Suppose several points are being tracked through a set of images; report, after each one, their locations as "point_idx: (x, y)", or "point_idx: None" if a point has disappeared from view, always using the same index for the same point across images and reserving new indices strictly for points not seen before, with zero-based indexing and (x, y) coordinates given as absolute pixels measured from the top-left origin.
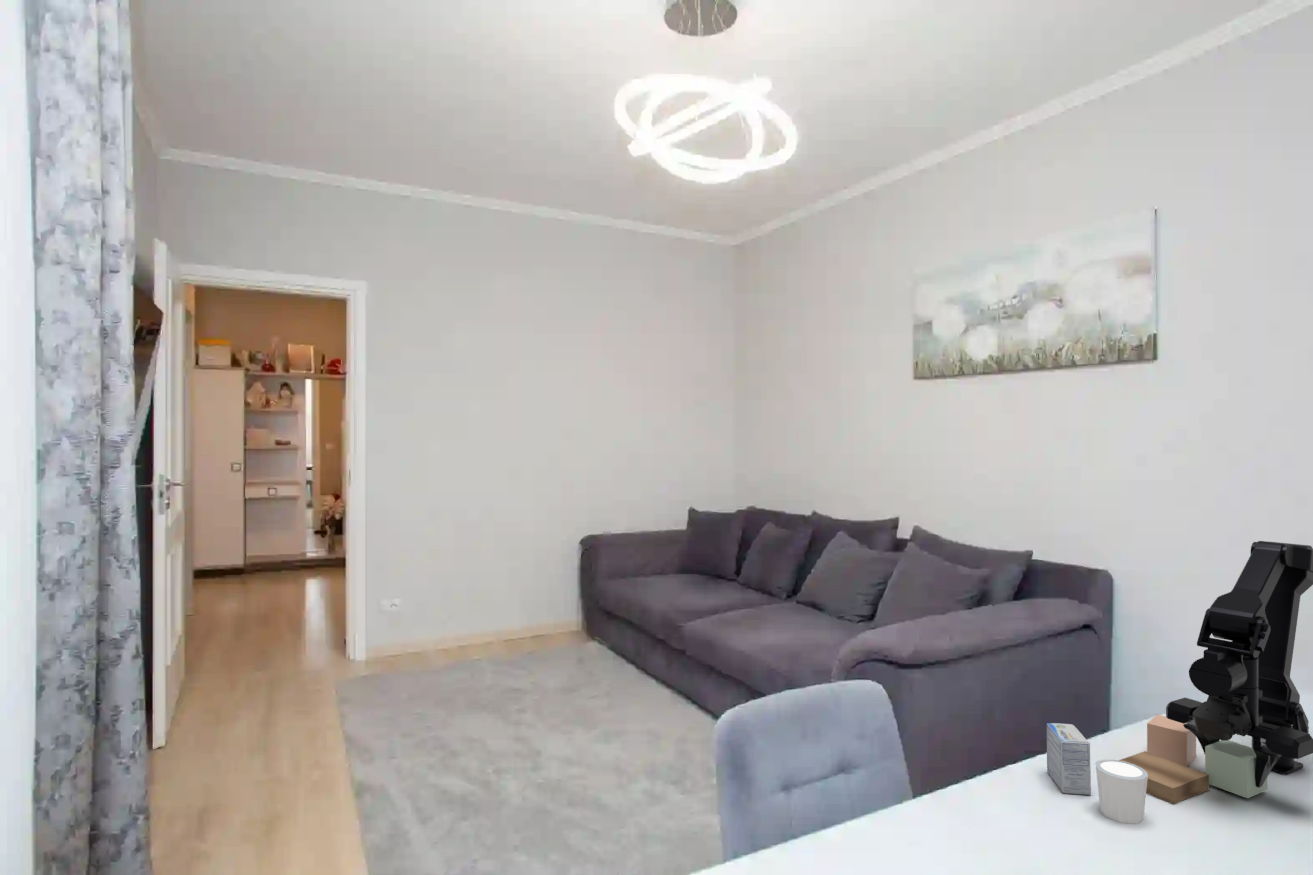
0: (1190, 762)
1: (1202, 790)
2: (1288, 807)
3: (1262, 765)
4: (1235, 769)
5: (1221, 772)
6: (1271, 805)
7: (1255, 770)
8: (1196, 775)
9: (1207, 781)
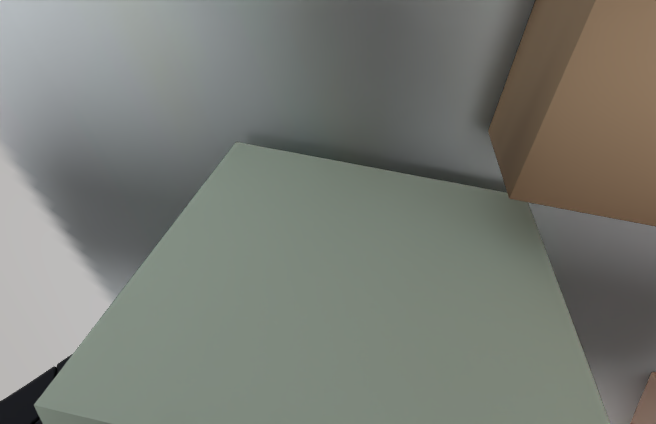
0: (633, 421)
1: (525, 44)
2: (110, 226)
3: (20, 409)
4: (259, 289)
5: (406, 258)
6: (157, 189)
7: None
8: (627, 74)
9: (506, 146)
